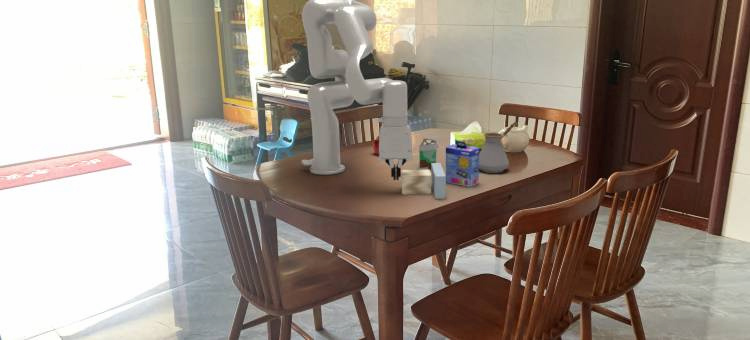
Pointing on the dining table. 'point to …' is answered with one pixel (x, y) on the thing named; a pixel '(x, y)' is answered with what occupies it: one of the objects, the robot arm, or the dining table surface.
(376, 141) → the pomegranate
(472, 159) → the ink cartridge box
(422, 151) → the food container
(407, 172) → the block
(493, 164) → the coffee pot
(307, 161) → the robot arm
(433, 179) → the board
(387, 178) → the dining table surface
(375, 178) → the dining table surface
